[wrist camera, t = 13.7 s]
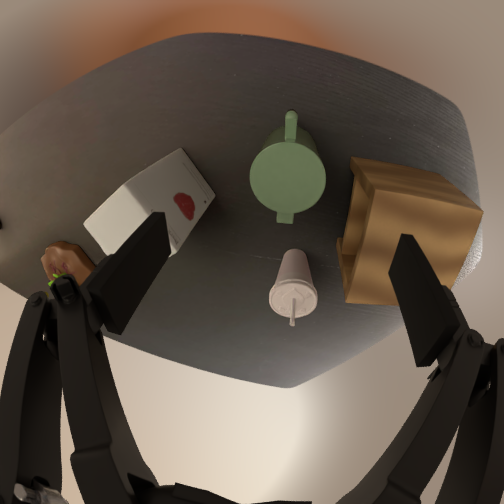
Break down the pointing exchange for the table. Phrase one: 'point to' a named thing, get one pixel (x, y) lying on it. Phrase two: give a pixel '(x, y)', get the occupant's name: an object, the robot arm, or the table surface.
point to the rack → (401, 227)
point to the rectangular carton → (153, 203)
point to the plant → (66, 262)
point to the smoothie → (293, 287)
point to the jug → (288, 171)
